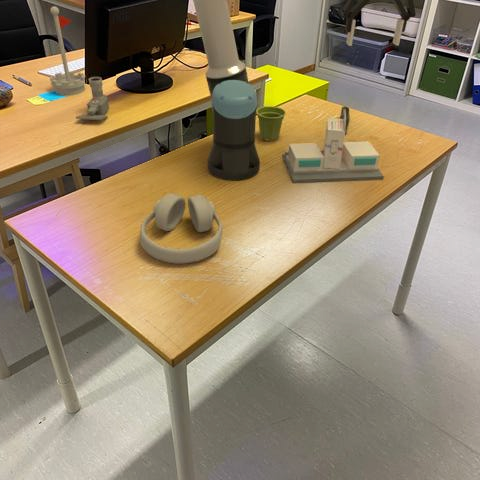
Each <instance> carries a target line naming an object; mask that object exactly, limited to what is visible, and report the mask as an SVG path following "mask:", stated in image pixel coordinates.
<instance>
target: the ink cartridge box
mask: <svg viewBox="0 0 480 480" xmlns="http://www.w3.org/2000/svg"><path fill="white" fill-rule="evenodd" d="M325 128H326V129H325V136H324V144H323V156H324V162H323V168H332V169H339V168H340V162H341V156H342V149H343V143H344V142H345V137H346V135H345V129H346V112H345V110H344V119H340V118H335V117H334V118H332V117H327V120H326V127H325Z"/></svg>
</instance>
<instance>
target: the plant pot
mask: <svg viewBox="0 0 480 480" xmlns="http://www.w3.org/2000/svg"><path fill="white" fill-rule="evenodd" d="M286 115H287V111H286V110H285V109H284V108H282V107H279V106H275V105H274V106H273V105H272V106H269V105H268V106H267V105H265V106H261V107H259V108H256V116H257V118H258V126H259V127H258V129H259V136H260V137H259V138H260V139H261V140H264V141H266V140H267V141H269V142H273V141H277V140H278V139H279V138H280V134H281V133H280V132H281V128H282V125H283V124H282V123H283V120H284V118H285V116H286Z"/></svg>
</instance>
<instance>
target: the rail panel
mask: <svg viewBox="0 0 480 480" xmlns="http://www.w3.org/2000/svg"><path fill="white" fill-rule="evenodd" d="M318 145H319V144H317V142H310V143H309V142H308V143H306V142H305V143H289V144H288V150H287V149H286V150H284V153H282V154H281V157H282V159H283V162H284V164H285V168H286V169H287V172H288V174H289V177H290V179H291V181H292V184H296V183H297V184H302V183H322V182H324V183H328V182H329V183H330V182H350V181H351V182H352V181H353V182H354V181H373V180H374V181H375V180H376V181H377V180H379V181H380V180H384V178H385V176H384V174H383V173H382V172H381V170H380V168H379V167H378V163H379V160H380V154H379V152H378V151H377V150H376V148H375V147H374V145H372V144H371V142H370V141H344V143H343V149H342V156H341V162H340V168H339V169H332V168H323V162H324V156H323V149H324V148H323V149H322V148H321V149H320V147H319V146H318Z"/></svg>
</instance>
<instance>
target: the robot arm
mask: <svg viewBox="0 0 480 480" xmlns="http://www.w3.org/2000/svg"><path fill="white" fill-rule="evenodd" d="M192 1H193V6H194V9H195V15H196V18H197V22H198V26H199V30H200V35H201V40H202V42H203V48H204V52H205V56H206V59H207V63H208V68H207V69H206V71H205V74H204V75H205V78H206V82H207V87H208V90H209V96H210V98H211V100H210V101H211V109H212V139H213V140H212V145H211V148H210V151H209V154H208V156H207V162H206V163H207V164H206V166H207V171H208V172H209V174H210V175H212V176H213V177H216V178H217V179H218V178H219V179H222V180H227V181H243V180H248V179H250V178H252V177H255V176H256V175H257V174H258V173H259V171H260V168H261V167H260V166H261V165H260V163H261V162H260V157H259V154H258V150H257V146H256V143H255V142H256V140H255V139H256V120H257V117H256V116H257V113H256V111H257V107H258V106H257V105H258V97H257V91H256V89H255V87H254V86H253V85H252V84H251V83H250V82H249V77H248V73H247V67H246V64H245V62H243V61H241V60H240V59H239V54H238V48H237V45H236V39H235V34H234V29H233V24H232V20H231V19H232V18H231V15H230V9H229V4H228V0H192ZM370 1H371V0H358V2H357V0H347V1H346V2H345V4H344V6H343V8H342V9H341V12H339V13H340V16H342V17H343V18H345V19H346V20H345V27H344V30H345V31H344V32H346V33H347V34H346V35H347V37H346V42H345V43H346V45H348V46H349V47H352V46H353V39H354V34H355V28H356V22H357V21H356V19H355V17H357V15H358V14H359V13H360V12H361V11H362V9H364V8H365V7H366V5H367V4H368V3H370ZM356 2H357V3H356ZM392 2H393V5H394V7H395V8H396V10H397V12H398V14H399V16H400V17H398V18H397V20H396V23H395V24H396V25H395V29H394V35H393V39H392V44H394V45H395V46H396V47H397V46H400V41H401V37H402V33H405V31H406V29H407V28H406V27H407V23H408V21H409V20H410V19H411V18H415V17H416V13H417V12H416V9H415V5H414V0H404V4H405V7H406V8H405V7H404V5H403V2H402V0H392Z"/></svg>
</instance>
